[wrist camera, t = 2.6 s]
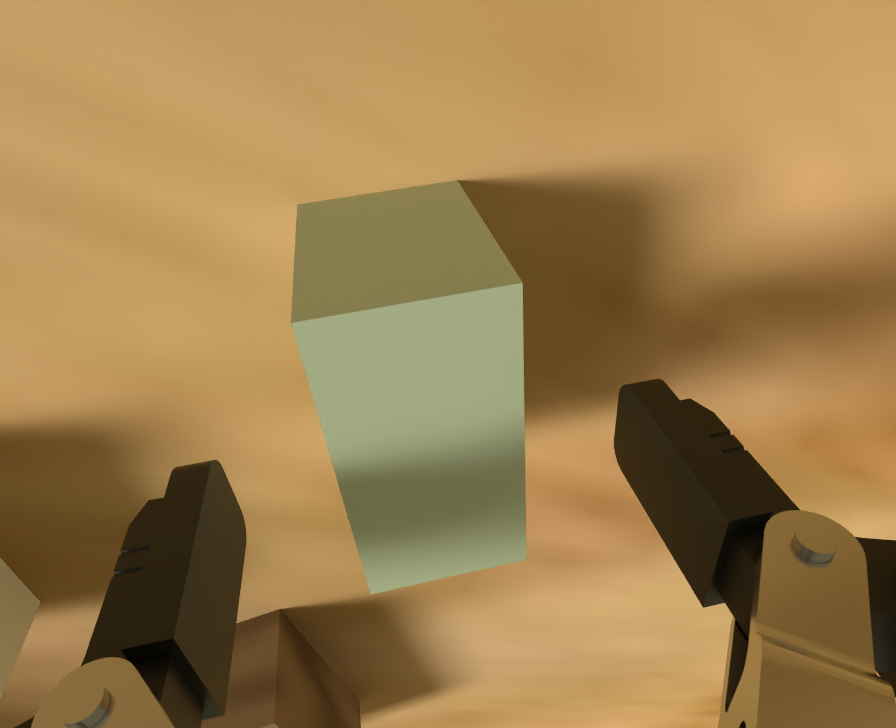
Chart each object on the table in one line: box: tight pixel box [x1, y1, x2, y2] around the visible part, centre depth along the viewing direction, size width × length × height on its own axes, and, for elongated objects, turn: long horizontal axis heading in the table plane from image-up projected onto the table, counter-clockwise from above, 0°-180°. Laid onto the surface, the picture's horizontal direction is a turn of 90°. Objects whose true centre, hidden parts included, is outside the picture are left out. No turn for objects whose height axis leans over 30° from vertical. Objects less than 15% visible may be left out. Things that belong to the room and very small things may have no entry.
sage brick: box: [291, 180, 526, 594], centre depth 13 cm, size 7×4×5 cm, turn 5°
